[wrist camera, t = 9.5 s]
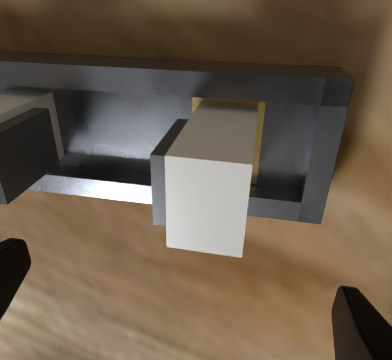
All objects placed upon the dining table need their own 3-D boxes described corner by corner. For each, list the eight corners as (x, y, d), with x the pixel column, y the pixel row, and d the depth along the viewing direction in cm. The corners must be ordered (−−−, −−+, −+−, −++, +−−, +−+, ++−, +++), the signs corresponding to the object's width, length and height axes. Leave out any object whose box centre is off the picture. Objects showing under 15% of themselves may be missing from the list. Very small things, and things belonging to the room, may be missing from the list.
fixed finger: (21, 151, 21) (-77, 211, 15) (5, 88, 19) (-114, 128, 13) (76, 157, 21) (-3, 222, 15) (65, 92, 19) (-31, 136, 13)
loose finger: (258, 106, 17) (252, 164, 11) (250, 175, 19) (241, 257, 13) (185, 100, 18) (142, 153, 12) (185, 168, 20) (147, 244, 14)
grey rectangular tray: (341, 67, 17) (354, 79, 14) (314, 195, 21) (320, 224, 18) (-23, 50, 20) (-65, 57, 18) (9, 163, 24) (-23, 183, 21)
